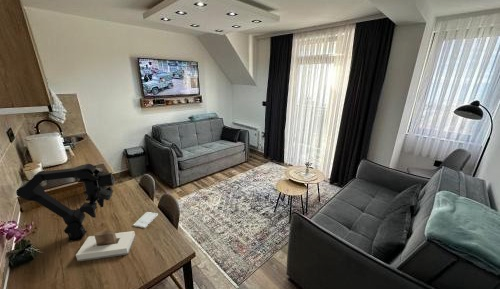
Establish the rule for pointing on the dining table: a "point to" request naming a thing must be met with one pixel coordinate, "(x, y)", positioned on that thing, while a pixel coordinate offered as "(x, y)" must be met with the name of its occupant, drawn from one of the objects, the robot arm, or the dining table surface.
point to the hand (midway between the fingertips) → (98, 212)
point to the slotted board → (106, 247)
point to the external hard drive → (145, 220)
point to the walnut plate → (105, 238)
